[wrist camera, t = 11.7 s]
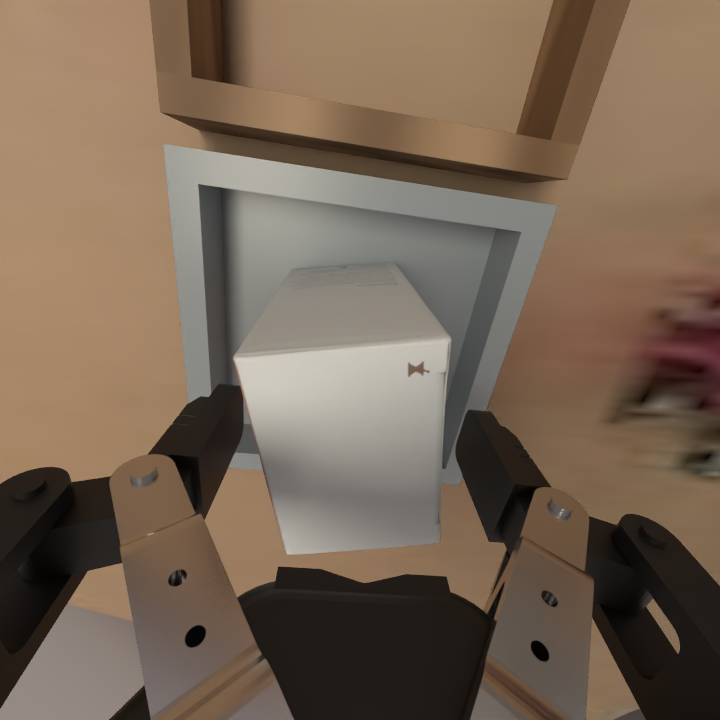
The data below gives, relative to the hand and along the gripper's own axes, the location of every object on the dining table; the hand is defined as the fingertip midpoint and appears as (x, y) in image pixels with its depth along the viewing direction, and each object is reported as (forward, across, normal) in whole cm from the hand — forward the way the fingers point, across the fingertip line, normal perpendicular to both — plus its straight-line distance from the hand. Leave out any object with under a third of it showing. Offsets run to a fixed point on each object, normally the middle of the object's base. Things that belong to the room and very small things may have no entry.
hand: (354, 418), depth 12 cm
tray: (+9, 0, 0) cm, 9 cm away
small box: (+8, 0, 0) cm, 8 cm away
